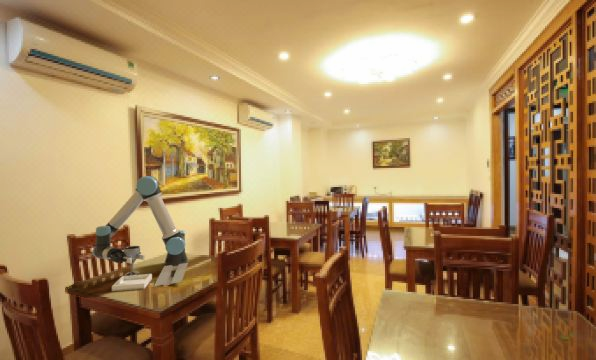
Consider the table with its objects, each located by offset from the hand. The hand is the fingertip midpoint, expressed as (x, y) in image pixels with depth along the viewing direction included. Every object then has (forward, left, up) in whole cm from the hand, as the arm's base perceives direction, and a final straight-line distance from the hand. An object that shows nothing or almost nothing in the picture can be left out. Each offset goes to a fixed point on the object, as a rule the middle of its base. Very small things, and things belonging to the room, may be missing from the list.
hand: (137, 259), depth 165 cm
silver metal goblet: (+4, -3, -9) cm, 10 cm away
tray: (+4, -3, -15) cm, 16 cm away
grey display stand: (-17, -3, -16) cm, 24 cm away
